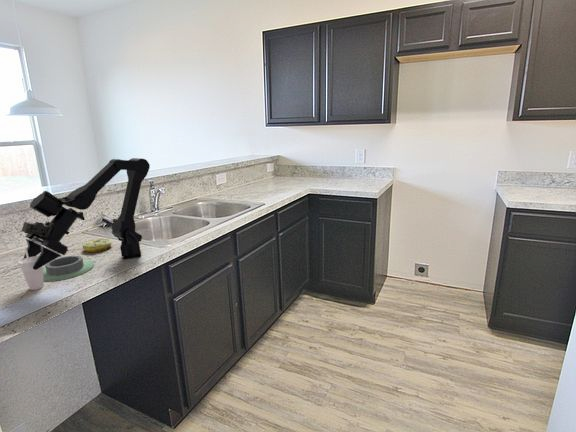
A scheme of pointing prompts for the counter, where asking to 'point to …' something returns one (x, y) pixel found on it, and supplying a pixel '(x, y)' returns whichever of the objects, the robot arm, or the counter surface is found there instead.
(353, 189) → the counter surface
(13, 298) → the counter surface
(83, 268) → the putting green cup
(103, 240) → the decorated donut
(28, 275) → the smoothie
